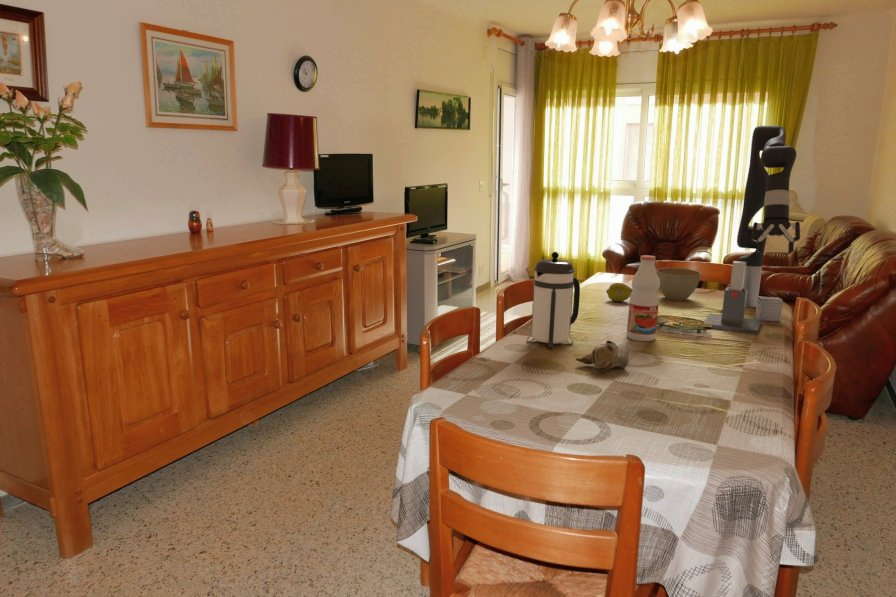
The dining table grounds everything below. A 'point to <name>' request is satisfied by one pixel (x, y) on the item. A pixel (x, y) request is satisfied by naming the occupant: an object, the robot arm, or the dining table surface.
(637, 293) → the fruit juice
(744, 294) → the stand
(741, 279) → the column
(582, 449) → the dining table surface
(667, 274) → the beige bowl
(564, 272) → the coffee press
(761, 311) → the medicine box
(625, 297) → the lemon
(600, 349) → the ceramic sculpture
